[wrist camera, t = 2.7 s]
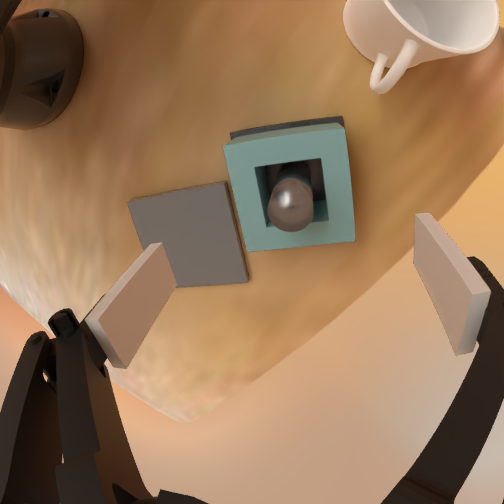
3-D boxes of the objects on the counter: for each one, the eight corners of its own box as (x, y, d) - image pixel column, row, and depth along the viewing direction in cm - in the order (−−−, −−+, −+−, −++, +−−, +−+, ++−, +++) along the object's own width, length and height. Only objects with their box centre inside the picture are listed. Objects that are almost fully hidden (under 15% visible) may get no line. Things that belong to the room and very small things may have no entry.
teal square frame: (236, 137, 27) (222, 146, 22) (337, 122, 24) (344, 128, 20) (255, 227, 31) (246, 252, 26) (348, 217, 28) (355, 241, 24)
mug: (392, 115, 24) (448, 133, 13) (308, 64, 23) (312, 40, 12) (446, 22, 18) (516, -3, 7) (366, -30, 17) (399, -90, 7)
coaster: (130, 199, 32) (126, 202, 31) (225, 181, 29) (223, 183, 28) (161, 284, 37) (158, 288, 36) (249, 278, 34) (247, 282, 33)
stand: (230, 132, 27) (199, 149, 19) (341, 116, 24) (358, 125, 17) (252, 231, 31) (233, 281, 23) (353, 220, 29) (368, 269, 21)
